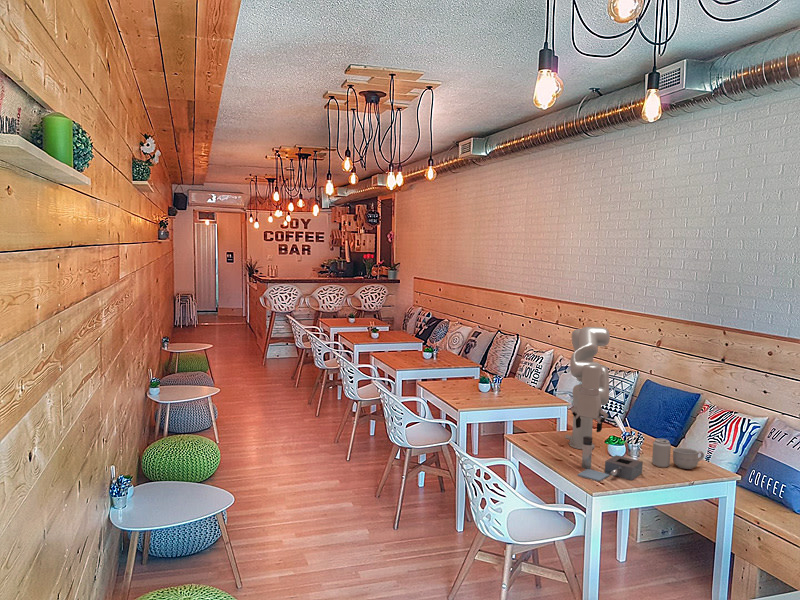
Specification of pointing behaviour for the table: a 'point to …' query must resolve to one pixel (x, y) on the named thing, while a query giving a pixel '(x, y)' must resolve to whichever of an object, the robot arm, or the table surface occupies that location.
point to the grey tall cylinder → (587, 452)
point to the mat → (593, 475)
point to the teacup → (686, 457)
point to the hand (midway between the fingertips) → (588, 429)
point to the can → (661, 453)
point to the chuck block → (623, 467)
